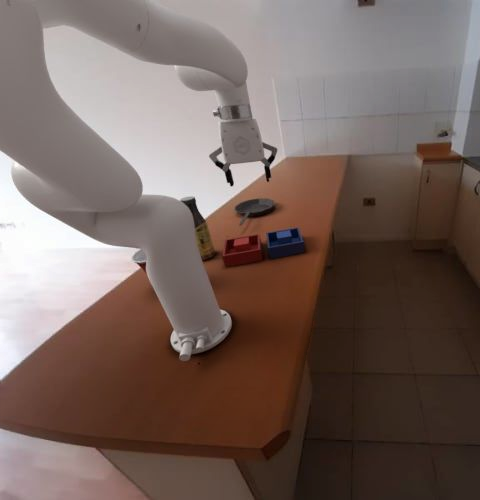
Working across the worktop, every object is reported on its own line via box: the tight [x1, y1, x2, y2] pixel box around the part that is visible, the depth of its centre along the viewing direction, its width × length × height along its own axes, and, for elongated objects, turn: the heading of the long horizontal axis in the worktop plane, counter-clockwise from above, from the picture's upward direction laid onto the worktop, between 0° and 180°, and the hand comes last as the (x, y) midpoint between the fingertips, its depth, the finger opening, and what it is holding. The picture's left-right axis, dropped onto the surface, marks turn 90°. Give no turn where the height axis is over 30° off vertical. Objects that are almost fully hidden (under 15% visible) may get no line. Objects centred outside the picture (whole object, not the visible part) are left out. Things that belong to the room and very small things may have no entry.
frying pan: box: [234, 197, 275, 226], centre depth 117 cm, size 18×32×4 cm, turn 1°
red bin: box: [222, 233, 264, 268], centre depth 90 cm, size 11×11×4 cm
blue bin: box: [265, 227, 306, 260], centre depth 92 cm, size 11×11×4 cm
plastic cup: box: [130, 249, 147, 275], centre depth 75 cm, size 11×11×12 cm
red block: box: [234, 237, 252, 253], centre depth 89 cm, size 4×4×4 cm
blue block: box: [276, 230, 293, 245], centre depth 92 cm, size 4×4×4 cm
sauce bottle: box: [179, 195, 216, 261], centre depth 87 cm, size 6×6×20 cm
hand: (250, 182), depth 76 cm, fingers open, 9 cm apart
